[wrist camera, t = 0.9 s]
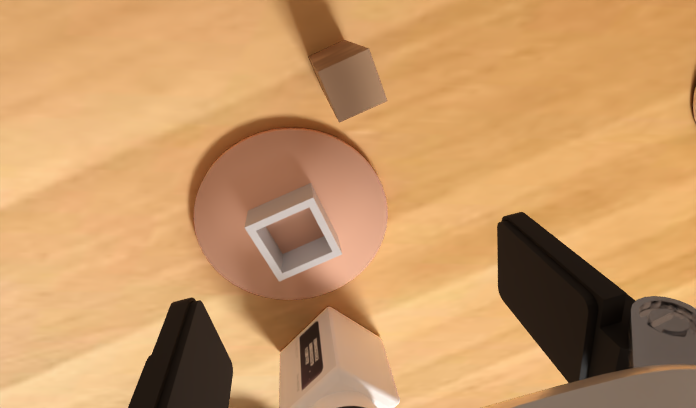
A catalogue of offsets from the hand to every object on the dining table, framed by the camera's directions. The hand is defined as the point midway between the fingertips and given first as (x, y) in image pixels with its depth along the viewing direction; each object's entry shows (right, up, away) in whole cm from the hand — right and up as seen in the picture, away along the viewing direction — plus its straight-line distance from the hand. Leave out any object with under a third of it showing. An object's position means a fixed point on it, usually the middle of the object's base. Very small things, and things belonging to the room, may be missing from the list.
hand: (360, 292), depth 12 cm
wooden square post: (-1, +13, +16) cm, 20 cm away
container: (-2, -12, +28) cm, 30 cm away
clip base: (-5, +1, +21) cm, 21 cm away
